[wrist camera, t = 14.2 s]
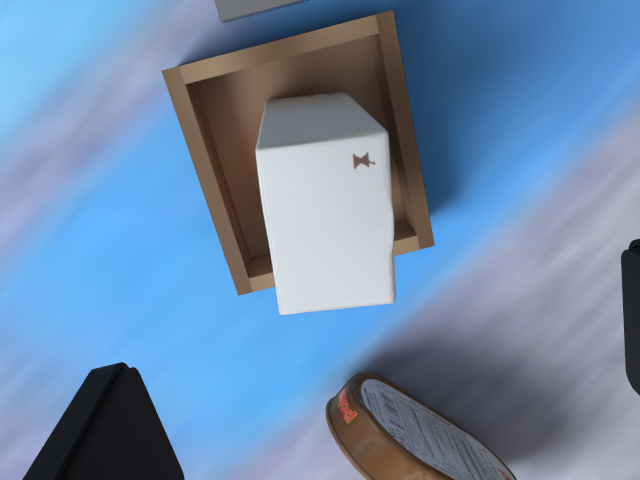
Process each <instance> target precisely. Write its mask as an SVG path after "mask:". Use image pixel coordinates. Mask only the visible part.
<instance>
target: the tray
mask: <svg viewBox="0 0 640 480" xmlns="http://www.w3.org/2000/svg"><path fill="white" fill-rule="evenodd" d="M162 73H163V76H164V79H165V82H166V85H167V88H168V91H169V94H170V97H171V100H172V103H173V106H174V108H175V111H176V114H177V117H178V120H179V123H180V126H181V129H182V132H183V135H184V138H185V141H186V144H187V147H188V150H189V152H190V155H191V158H192V161H193V164H194V167H195V170H196V173H197V176H198V179H199V182H200V185H201V188H202V191H203V194H204V197H205V199H206V202H207V205H208V208H209V211H210V214H211V217H212V220H213V223H214V226H215V229H216V232H217V235H218V238H219V241H220V243H221V246H222V249H223V252H224V255H225V258H226V261H227V264H228V267H229V270H230V273H231V276H232V279H233V282H234V285H235V287H236V290H237V293H238V296H239V295H243V294H247V293H251V292H254V291H258V290H262V289H266V288H270V287H274V286H276V285H275V279H274V273H273V266H272V260H271V254H270V248H269V242H268V236H267V230H266V225H265V219H264V214H263V207H262V201H261V194H260V186H259V178H258V169H257V160H256V152H255V150H256V146H257V141H258V136H259V132H260V127H261V122H262V117H263V113H264V108H265V104H266V101H267V100H271V99H281V98H290V97H298V96H306V95H314V94H325V93H335V92H346V93H347V94H348V95H349V96H350V97H351V98H352V99H353V100H354V101H355V102H356V103H358V104H359V105H360V106H361V107H362V108H363V109H364V110H365V111H366V112H367V113H368V114H369V115H370V116H371V117H372V118H373V119H375V120H376V121H377V122H378V123H379V124H380V125H381V126H382V127H383V128H384V129H385V130H386V131H387V132H388V137H389V151H390V168H391V186H392V205H393V213H394V256H396V255H400V254H404V253H408V252H412V251H416V250H420V249H424V248H428V247H431V246H435V245H434V239H433V233H432V228H431V222H430V216H429V211H428V205H427V199H426V194H425V188H424V182H423V177H422V171H421V165H420V160H419V154H418V148H417V143H416V137H415V131H414V126H413V120H412V114H411V109H410V103H409V97H408V92H407V86H406V80H405V75H404V69H403V63H402V58H401V52H400V46H399V41H398V35H397V29H396V24H395V18H394V12H393V10H390V11H386V12H382V13H378V14H375V15H371V16H367V17H363V18H359V19H356V20H352V21H348V22H344V23H341V24H337V25H333V26H329V27H325V28H322V29H318V30H314V31H310V32H306V33H303V34H299V35H295V36H291V37H287V38H284V39H280V40H276V41H272V42H268V43H265V44H261V45H257V46H253V47H249V48H246V49H242V50H238V51H234V52H230V53H227V54H223V55H219V56H215V57H212V58H208V59H204V60H200V61H196V62H193V63H189V64H185V65H181V66H177V67H174V68H170V69H166V70H163V71H162Z"/></svg>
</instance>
